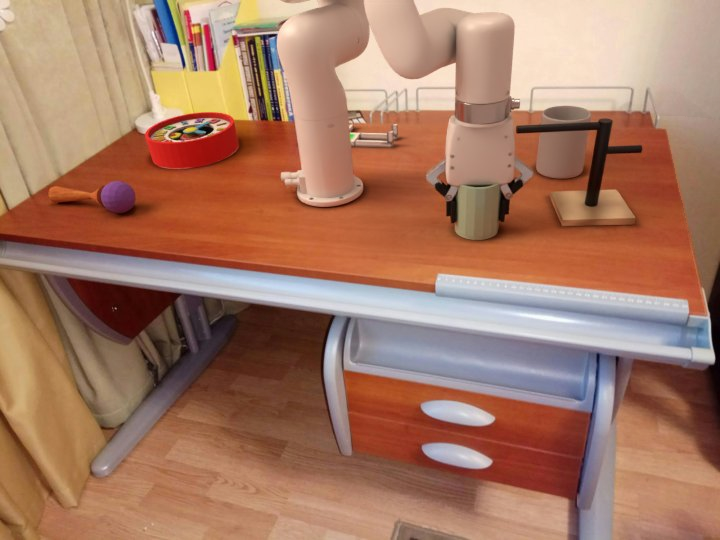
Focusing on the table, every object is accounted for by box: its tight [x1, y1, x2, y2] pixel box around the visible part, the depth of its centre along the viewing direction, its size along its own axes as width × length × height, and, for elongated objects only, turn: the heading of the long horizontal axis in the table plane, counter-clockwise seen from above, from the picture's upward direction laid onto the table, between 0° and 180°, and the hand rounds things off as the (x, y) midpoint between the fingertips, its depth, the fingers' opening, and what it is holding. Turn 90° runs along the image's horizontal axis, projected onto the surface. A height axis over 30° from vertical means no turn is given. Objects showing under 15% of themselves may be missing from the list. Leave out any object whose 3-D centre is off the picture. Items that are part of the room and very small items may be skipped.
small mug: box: [454, 184, 501, 241], centre depth 88 cm, size 11×7×9 cm, turn 175°
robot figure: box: [349, 123, 399, 149], centre depth 124 cm, size 16×3×22 cm
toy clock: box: [144, 111, 240, 170], centre depth 127 cm, size 20×6×20 cm
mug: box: [535, 105, 592, 180], centre depth 103 cm, size 12×8×11 cm
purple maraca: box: [47, 180, 136, 214], centre depth 106 cm, size 6×6×20 cm
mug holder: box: [515, 117, 643, 227], centre depth 87 cm, size 19×10×15 cm, turn 85°
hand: (476, 217), depth 88 cm, fingers closed on small mug, 7 cm apart
